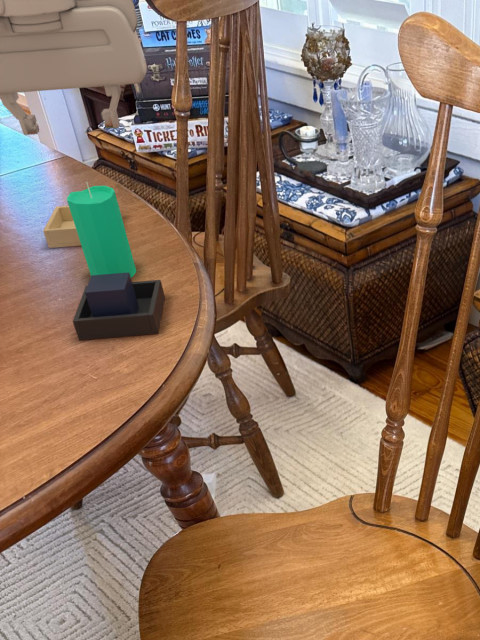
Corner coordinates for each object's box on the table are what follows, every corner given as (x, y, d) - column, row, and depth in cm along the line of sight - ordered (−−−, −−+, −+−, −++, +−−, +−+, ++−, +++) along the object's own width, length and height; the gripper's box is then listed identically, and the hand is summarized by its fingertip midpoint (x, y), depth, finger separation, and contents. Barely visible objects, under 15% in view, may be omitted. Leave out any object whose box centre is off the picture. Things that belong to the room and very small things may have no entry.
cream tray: (48, 248, 112) (42, 230, 110) (61, 223, 118) (55, 206, 117) (114, 243, 112) (109, 225, 111) (122, 218, 119) (118, 201, 117)
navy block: (96, 327, 93) (84, 292, 90) (102, 309, 96) (91, 275, 93) (134, 324, 94) (124, 289, 90) (138, 306, 97) (129, 272, 94)
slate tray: (79, 340, 92) (72, 321, 90) (91, 304, 99) (85, 285, 97) (158, 333, 93) (152, 314, 91) (165, 298, 99) (160, 279, 98)
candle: (138, 262, 107) (113, 171, 99) (135, 281, 103) (109, 187, 95) (93, 266, 107) (65, 175, 98) (88, 286, 102) (58, 192, 94)
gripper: (132, -22, 86) (163, 115, 96) (-58, -9, 85) (-8, 129, 94) (125, -12, 81) (158, 131, 91) (-77, 1, 80) (-22, 145, 90)
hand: (72, 130), depth 93 cm, fingers open, 8 cm apart
